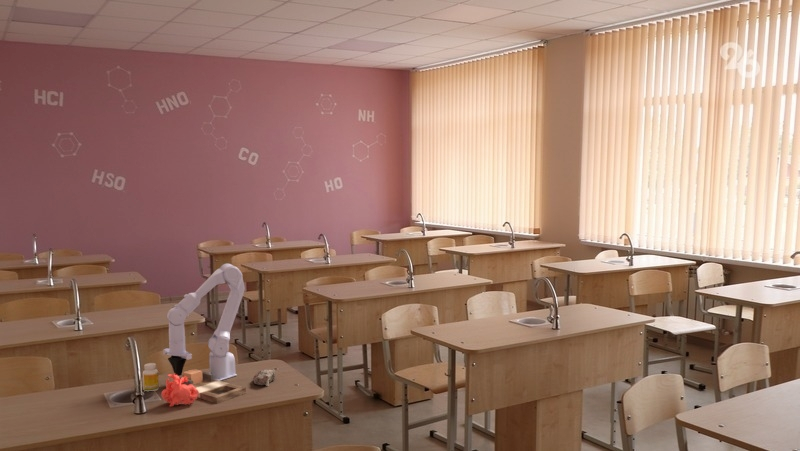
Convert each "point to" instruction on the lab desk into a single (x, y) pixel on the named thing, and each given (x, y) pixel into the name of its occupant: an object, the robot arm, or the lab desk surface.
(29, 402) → the lab desk surface
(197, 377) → the terracotta block
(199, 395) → the tunnel deck
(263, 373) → the mineral rock
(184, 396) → the anatomical heart
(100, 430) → the lab desk surface
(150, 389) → the supplement bottle
